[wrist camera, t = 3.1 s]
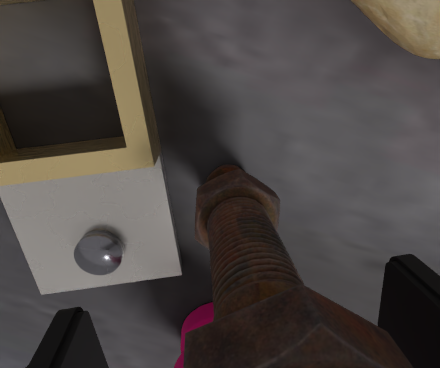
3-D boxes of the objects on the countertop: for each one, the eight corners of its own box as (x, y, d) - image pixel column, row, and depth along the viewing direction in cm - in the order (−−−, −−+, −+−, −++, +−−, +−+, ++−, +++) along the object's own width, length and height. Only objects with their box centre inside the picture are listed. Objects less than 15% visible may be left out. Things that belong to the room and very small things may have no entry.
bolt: (171, 192, 20) (117, 473, 6) (212, 131, 19) (265, 308, 5) (239, 231, 21) (321, 528, 8) (281, 177, 20) (475, 415, 6)
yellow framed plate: (77, -301, 12) (33, -442, 9) (182, 264, 22) (180, 298, 19) (-178, -285, 11) (-325, -425, 8) (49, 283, 22) (23, 320, 18)
